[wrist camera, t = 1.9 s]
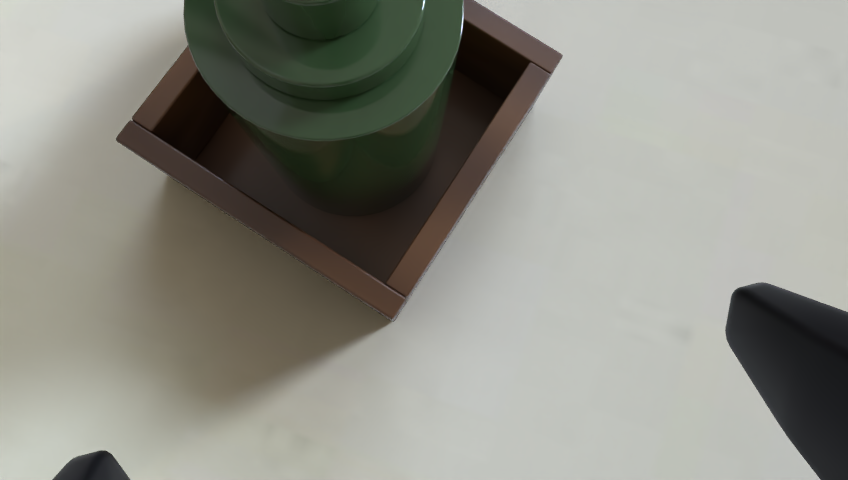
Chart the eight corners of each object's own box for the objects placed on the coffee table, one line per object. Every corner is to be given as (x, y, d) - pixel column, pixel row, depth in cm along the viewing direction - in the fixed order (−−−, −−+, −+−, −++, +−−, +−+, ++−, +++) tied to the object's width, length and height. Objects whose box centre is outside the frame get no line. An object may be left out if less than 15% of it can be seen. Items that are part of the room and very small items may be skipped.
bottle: (378, 249, 21) (355, 159, 10) (233, 156, 21) (53, -33, 10) (470, 111, 22) (543, -113, 11) (331, 24, 22) (264, -280, 11)
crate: (393, 322, 21) (392, 320, 17) (166, 174, 21) (113, 138, 17) (534, 103, 22) (563, 54, 18) (320, -30, 23) (303, -105, 19)
